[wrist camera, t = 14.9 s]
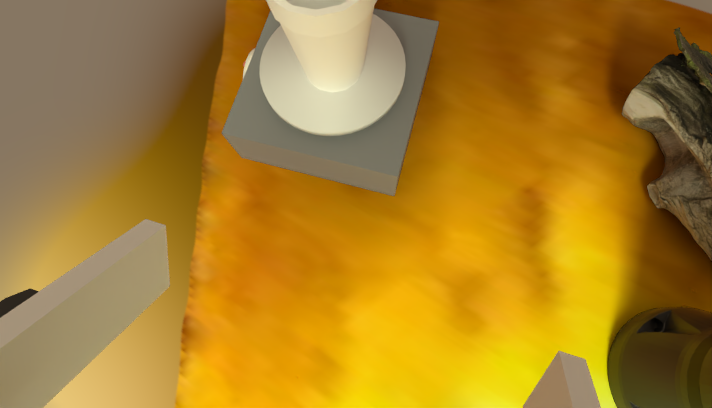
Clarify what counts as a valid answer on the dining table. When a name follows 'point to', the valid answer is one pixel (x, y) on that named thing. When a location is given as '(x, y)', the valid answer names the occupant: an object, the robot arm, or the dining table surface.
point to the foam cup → (327, 38)
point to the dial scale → (334, 106)
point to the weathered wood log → (680, 135)
